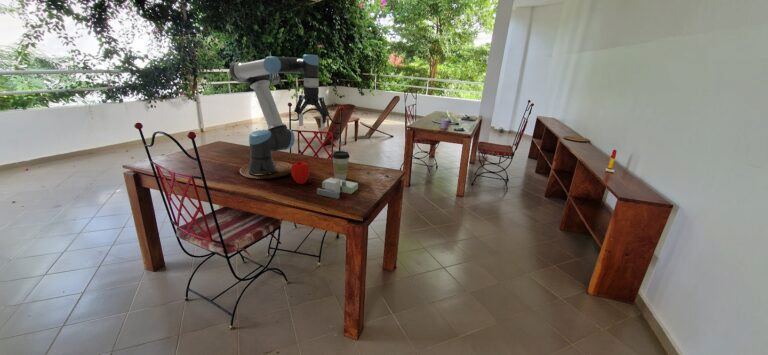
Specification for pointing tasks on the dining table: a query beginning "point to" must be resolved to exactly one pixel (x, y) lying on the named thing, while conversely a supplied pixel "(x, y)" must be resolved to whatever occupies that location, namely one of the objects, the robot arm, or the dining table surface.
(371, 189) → the dining table surface
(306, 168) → the apple
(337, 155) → the coffee cup
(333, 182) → the gray rectangular prism
